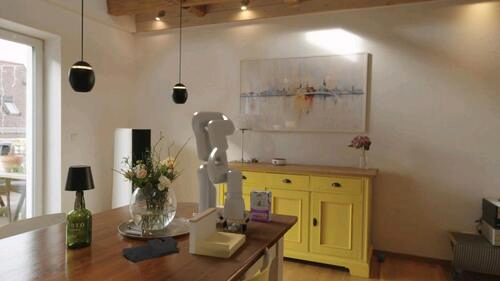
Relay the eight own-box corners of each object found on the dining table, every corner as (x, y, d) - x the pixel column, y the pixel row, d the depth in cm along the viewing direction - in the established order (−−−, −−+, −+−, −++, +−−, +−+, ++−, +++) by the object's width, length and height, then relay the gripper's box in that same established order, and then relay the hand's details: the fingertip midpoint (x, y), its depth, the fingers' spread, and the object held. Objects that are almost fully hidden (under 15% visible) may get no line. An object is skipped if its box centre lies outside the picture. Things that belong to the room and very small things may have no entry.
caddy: (223, 238, 167) (223, 228, 167) (231, 230, 179) (232, 221, 179) (236, 239, 165) (236, 229, 165) (244, 232, 177) (244, 223, 177)
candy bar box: (271, 220, 199) (272, 191, 199) (268, 222, 195) (269, 192, 194) (253, 218, 204) (253, 189, 203) (249, 220, 199) (250, 191, 198)
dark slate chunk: (118, 253, 147) (118, 242, 147) (167, 242, 161) (167, 232, 161) (132, 265, 135) (132, 252, 135) (183, 252, 149) (184, 241, 149)
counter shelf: (188, 253, 147) (188, 219, 146) (210, 237, 169) (210, 207, 168) (227, 258, 142) (228, 223, 141) (245, 241, 163) (245, 210, 163)
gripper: (214, 195, 170) (214, 231, 171) (249, 197, 165) (249, 234, 165) (220, 193, 177) (220, 227, 178) (254, 195, 172) (254, 230, 173)
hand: (234, 230), depth 172 cm, fingers open, 9 cm apart
